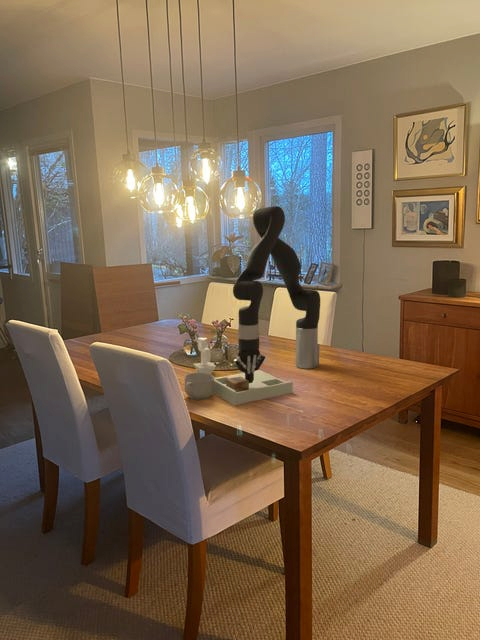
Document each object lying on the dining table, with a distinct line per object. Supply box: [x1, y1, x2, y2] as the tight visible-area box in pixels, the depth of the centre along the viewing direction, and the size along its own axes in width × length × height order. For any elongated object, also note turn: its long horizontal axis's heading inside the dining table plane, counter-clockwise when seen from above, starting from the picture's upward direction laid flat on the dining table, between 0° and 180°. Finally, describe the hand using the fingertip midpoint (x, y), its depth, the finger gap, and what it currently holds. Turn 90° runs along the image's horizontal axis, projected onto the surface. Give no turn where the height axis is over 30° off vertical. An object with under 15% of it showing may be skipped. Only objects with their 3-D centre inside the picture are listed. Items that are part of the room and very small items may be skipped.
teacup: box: [184, 371, 216, 401], centre depth 192 cm, size 14×11×8 cm
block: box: [226, 376, 249, 392], centre depth 192 cm, size 6×6×4 cm
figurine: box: [193, 337, 217, 375], centre depth 221 cm, size 7×9×15 cm
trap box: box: [212, 369, 294, 406], centre depth 200 cm, size 25×24×5 cm
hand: (249, 382), depth 194 cm, fingers closed
